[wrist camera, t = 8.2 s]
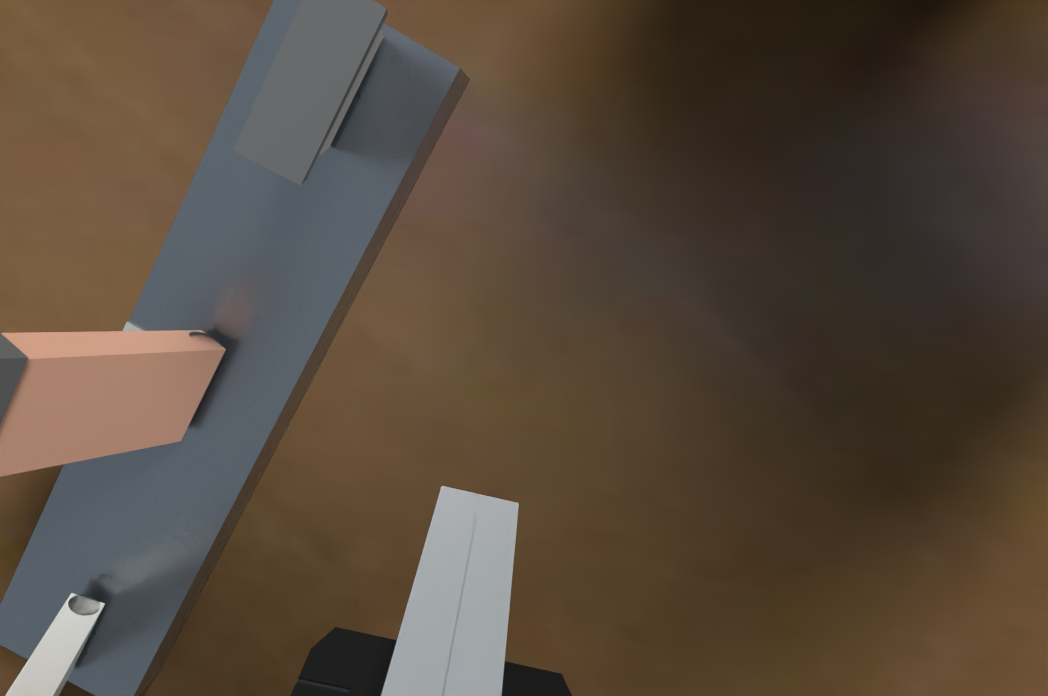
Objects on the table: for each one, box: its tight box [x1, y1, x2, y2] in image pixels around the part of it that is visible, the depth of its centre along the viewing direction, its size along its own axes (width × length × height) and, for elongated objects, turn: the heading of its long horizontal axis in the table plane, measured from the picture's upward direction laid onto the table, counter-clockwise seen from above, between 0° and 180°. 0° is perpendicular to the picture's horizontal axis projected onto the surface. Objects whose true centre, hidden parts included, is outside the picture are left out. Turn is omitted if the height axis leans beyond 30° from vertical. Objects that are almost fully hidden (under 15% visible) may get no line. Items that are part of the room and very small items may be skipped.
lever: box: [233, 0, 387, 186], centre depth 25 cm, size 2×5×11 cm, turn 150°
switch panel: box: [0, 0, 469, 696], centre depth 35 cm, size 8×36×3 cm, turn 150°
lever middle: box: [0, 330, 226, 477], centre depth 28 cm, size 2×5×11 cm, turn 150°
